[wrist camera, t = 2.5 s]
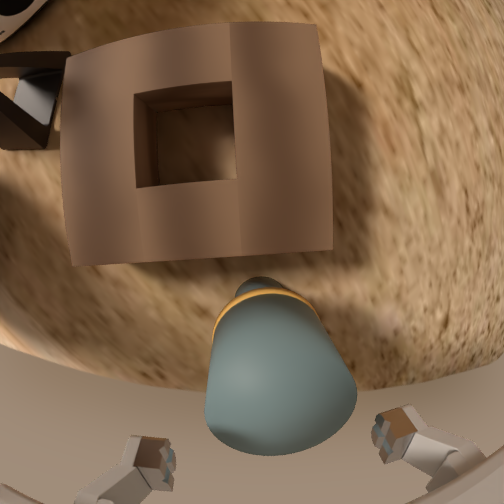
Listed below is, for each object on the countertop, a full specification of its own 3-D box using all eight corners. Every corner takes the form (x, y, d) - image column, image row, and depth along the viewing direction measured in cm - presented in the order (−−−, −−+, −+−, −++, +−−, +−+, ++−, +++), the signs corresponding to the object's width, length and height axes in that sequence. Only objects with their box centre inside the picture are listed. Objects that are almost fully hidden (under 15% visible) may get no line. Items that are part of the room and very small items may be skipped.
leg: (301, 257, 21) (369, 340, 10) (301, 333, 23) (346, 444, 11) (214, 263, 21) (190, 358, 9) (222, 339, 23) (214, 459, 11)
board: (299, 54, 17) (316, 24, 13) (311, 234, 21) (332, 249, 16) (96, 78, 17) (66, 58, 12) (103, 248, 20) (72, 266, 15)
